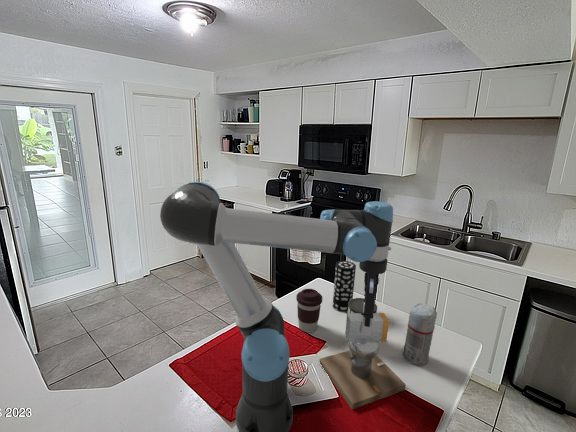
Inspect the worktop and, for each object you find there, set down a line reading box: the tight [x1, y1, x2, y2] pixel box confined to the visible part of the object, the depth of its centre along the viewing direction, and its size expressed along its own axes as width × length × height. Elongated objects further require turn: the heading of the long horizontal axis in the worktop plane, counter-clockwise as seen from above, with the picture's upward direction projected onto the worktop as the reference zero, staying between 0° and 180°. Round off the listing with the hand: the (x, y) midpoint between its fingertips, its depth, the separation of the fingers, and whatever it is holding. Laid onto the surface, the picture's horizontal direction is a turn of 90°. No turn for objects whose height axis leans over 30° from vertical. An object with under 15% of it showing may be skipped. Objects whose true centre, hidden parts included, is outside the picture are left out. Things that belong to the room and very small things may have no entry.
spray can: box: [402, 302, 438, 367], centre depth 106 cm, size 8×8×20 cm
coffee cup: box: [295, 288, 323, 333], centre depth 122 cm, size 10×10×15 cm
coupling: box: [344, 312, 390, 359], centre depth 96 cm, size 12×9×11 cm
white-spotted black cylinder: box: [332, 260, 357, 313], centre depth 137 cm, size 8×8×20 cm
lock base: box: [318, 349, 407, 410], centre depth 99 cm, size 19×19×10 cm
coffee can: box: [344, 297, 378, 342], centre depth 117 cm, size 10×10×14 cm
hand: (366, 328), depth 95 cm, fingers closed on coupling, 5 cm apart
